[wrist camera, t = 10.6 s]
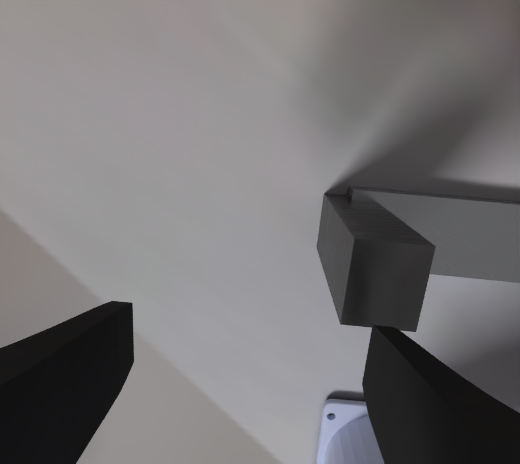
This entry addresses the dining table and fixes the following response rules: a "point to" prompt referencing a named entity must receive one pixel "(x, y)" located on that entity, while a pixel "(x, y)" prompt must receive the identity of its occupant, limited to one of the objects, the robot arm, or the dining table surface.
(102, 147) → the dining table surface
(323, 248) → the grey l-shaped block
